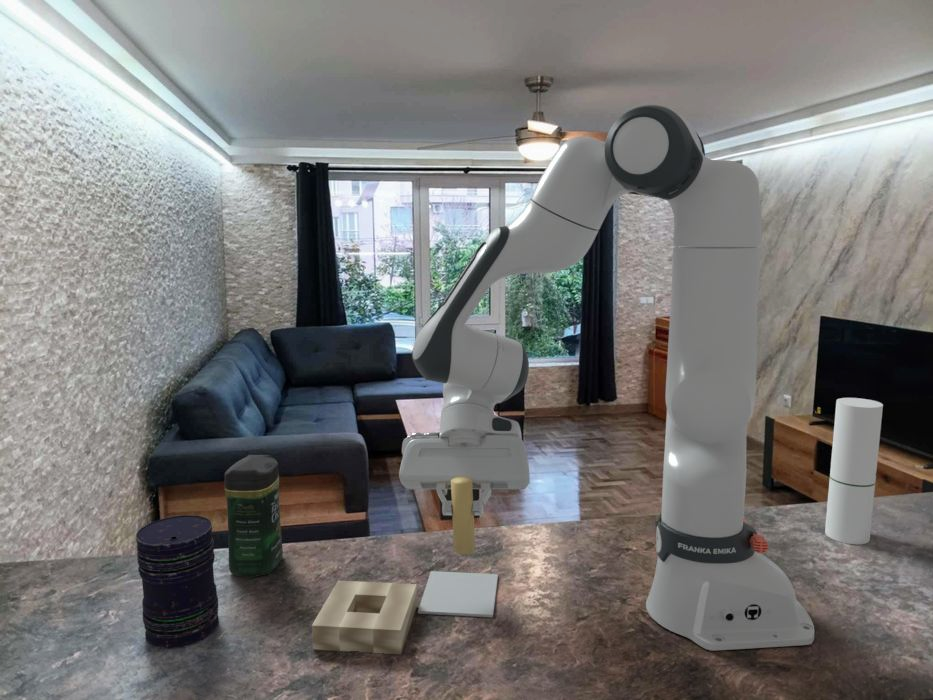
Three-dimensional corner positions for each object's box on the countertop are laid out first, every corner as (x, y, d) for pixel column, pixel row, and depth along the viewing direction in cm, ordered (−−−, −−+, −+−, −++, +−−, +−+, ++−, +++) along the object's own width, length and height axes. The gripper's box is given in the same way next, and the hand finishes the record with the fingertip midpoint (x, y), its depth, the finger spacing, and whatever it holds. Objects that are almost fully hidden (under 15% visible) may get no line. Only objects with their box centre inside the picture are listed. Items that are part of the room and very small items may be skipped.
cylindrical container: (870, 532, 126) (883, 400, 122) (868, 547, 120) (882, 409, 116) (826, 524, 130) (838, 396, 125) (823, 538, 124) (834, 404, 119)
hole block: (417, 605, 102) (416, 584, 102) (400, 654, 90) (400, 630, 90) (338, 601, 103) (337, 580, 103) (313, 649, 92) (311, 625, 91)
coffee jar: (272, 580, 110) (265, 470, 107) (223, 579, 110) (215, 469, 107) (289, 552, 120) (283, 450, 117) (244, 552, 120) (237, 450, 117)
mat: (497, 576, 111) (497, 574, 111) (492, 617, 99) (492, 614, 99) (430, 573, 112) (430, 571, 112) (418, 613, 100) (417, 610, 100)
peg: (476, 545, 105) (473, 477, 104) (474, 554, 102) (471, 484, 100) (455, 545, 106) (452, 477, 104) (452, 554, 102) (449, 484, 101)
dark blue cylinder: (147, 617, 100) (138, 520, 97) (219, 604, 103) (212, 510, 100) (141, 656, 90) (131, 550, 88) (220, 640, 94) (212, 538, 91)
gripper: (400, 423, 109) (390, 505, 101) (528, 422, 107) (529, 505, 99) (407, 442, 114) (398, 521, 106) (530, 441, 112) (530, 522, 104)
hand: (462, 514), depth 102 cm, fingers closed on peg, 3 cm apart
